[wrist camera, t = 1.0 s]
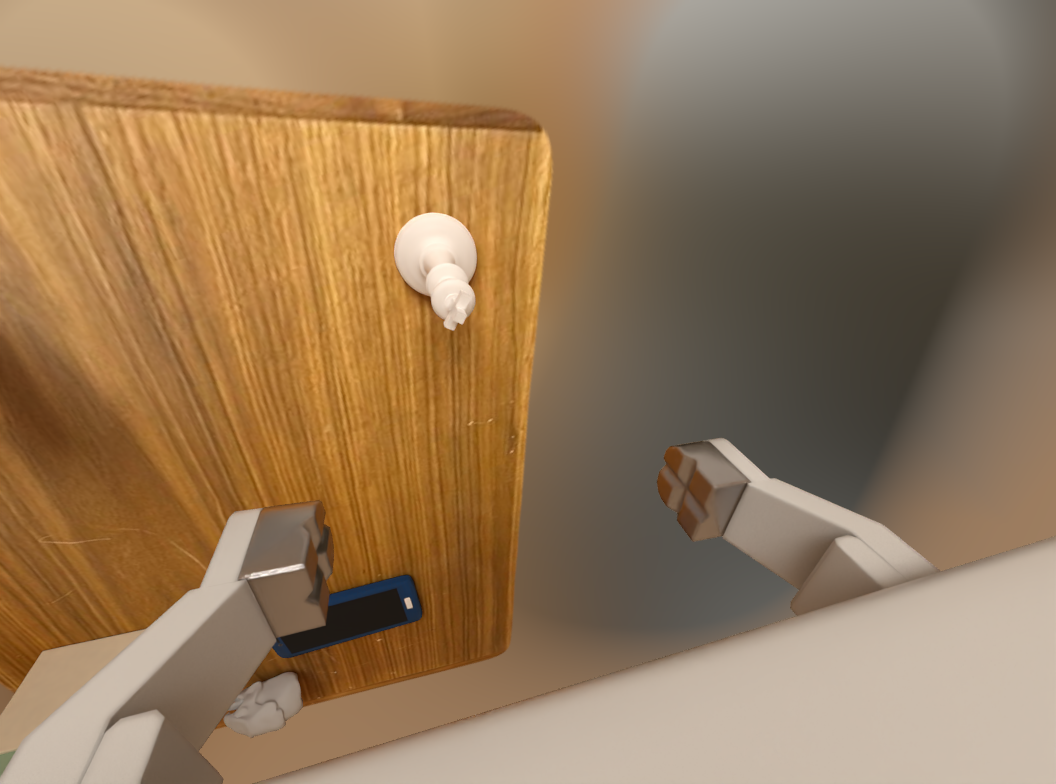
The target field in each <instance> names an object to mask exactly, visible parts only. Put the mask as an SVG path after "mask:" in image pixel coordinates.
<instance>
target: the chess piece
mask: <svg viewBox="0 0 1056 784" xmlns="http://www.w3.org/2000/svg"><path fill="white" fill-rule="evenodd" d="M394 257H395V262H396V266H397V268H398V271H399V273H400V274H401V276H402V277H403V279H404V280H405V281H406V283H407V284H408V285H409V286H410V287H412V288H413V289H414V290H416V291H417V292H419V293H421V294H424V295H427V296H430V297H431V304H432V308H433V310H434V312H435V313H436V314H437V315H438V316H439V317H440V318H442V319H444V320H445V321H444V327H446V328H448V329H450V330H453V331H454V329H455V328H456V326H457V324H458V323H460V324H463V322H464V320H465V319H466V317H468V316H469V315H470V314H471V312H472V311H473V309H474V306H475V294H474V292H473V290H472V288H471V287H470V286H469V281H470V280H471V278H472V276H473V274H474V272H475V269H476V264H477V253H476V247H475V243H474V240H473V238H472V236H471V234H470V233H469V231H468V230H467V229H466V227H465V226H464V225H463V224H461V223H460V222H459V221H458V220H456V219H454V218H453V217H451V216H448V215H445V214H441V213H426V214H422V215H419V216H417V217H415V218H413V219H411V220H410V221H409V222H407V223H406V224H405V225H404V226H403V228H402V229H401V230H400V232H399V234H398V236H397V239H396V242H395V247H394Z"/></svg>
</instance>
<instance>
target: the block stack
mask: <svg viewBox="0 0 1056 784" xmlns="http://www.w3.org/2000/svg"><path fill="white" fill-rule="evenodd" d="M145 630H146V629H144V630H139V631H134V632H130V633H125V634H120V635H116V636H111V637H106V638H102V639H97V640H92V641H88V642H83V643H78V644H73V645H69V646H64V647H59V648H55V649H50V650H45V651H42V653H41V654H40V656H39V657H38V659H37V660H36V662H35V663H34V665H33V666H32V668H31V669H30V671H29V673H28V674H27V676H26V677H25V679H24V680H23V682H22V683H21V685H20V686H19V688H18V689H17V691H16V692H15V694H14V695H13V697H12V699H11V700H10V702H9V703H8V705H7V706H6V708H5V709H4V711H3V712H2V714H1V716H0V777H1V775H2V773H3V772H4V770H5V768H6V767H7V765H8V763H9V762H10V760H11V758H12V757H13V755H14V753H15V752H16V750H17V748H18V747H19V745H20V743H21V742H22V740H23V739H24V738H25V737H26V736H27V735H29V734H30V733H31V732H32V731H33V730H34V729H35V728H36V727H38V726H39V725H40V724H41V723H42V722H43V721H44V720H45V719H46V718H48V717H49V716H50V715H51V714H52V713H53V712H54V711H55V710H57V709H58V708H59V707H60V706H61V705H62V704H63V703H64V702H65V701H67V700H68V699H69V698H70V697H71V696H72V695H73V694H74V693H76V692H77V691H78V690H79V689H80V688H81V687H82V686H83V685H84V684H86V683H87V682H88V681H89V680H90V679H91V678H92V677H93V676H95V675H96V674H97V673H98V672H99V671H100V670H101V669H102V668H103V667H105V666H106V665H107V664H108V663H109V662H110V661H111V660H112V659H113V658H115V657H116V656H117V655H118V654H119V653H120V652H121V651H122V650H124V649H125V648H126V647H127V646H128V645H129V644H130V643H131V642H132V641H134V640H135V639H136V638H137V637H138V636H139V635H140V634H141V633H143V632H144V631H145Z"/></svg>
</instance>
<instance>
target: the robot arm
mask: <svg viewBox="0 0 1056 784" xmlns="http://www.w3.org/2000/svg"><path fill="white" fill-rule="evenodd" d="M664 460H665V462H666V463H667V464H666V465H665V466H664V468H663V469H661V471H660V472H659V476H658V480H657V484H658V491H659V494H660V496H661V499H662V500H663V502H664V503H665V505H666V506H667V507H668V508H670V509H672V510H674V511H675V512H677V514H678V515H677V521H678V522H679V524H680V525H681V526H682V528H683V529H684V530H685V532H686V533H687V534H688V536H689V537H690V539H691V540H692V541H693V542H694V541H699V540H704V539H710V538H715V537H719V536H723V537H722V538H723V539H725V540H727V541H728V542H729V543H731V544H732V545H734V546H735V547H737V548H738V549H740V550H741V551H742V552H744V553H746V554H747V555H749V556H750V557H751V558H753V559H754V560H756V561H757V562H759V563H760V564H762V565H763V566H765V567H766V568H768V569H769V570H771V571H772V572H774V573H775V574H776V575H778V576H779V577H781V578H782V579H784V580H785V581H787V582H788V583H790V584H791V585H793V586H794V587H796V588H797V589H799V591H798V592H797V594H796V595H795V597H794V598H793V600H792V601H791V607H790V608H791V609H792V610H793V612H794V613H795V614H796V615H797V616H795V617H792V618H788V619H785V620H782V621H779V622H775V623H772V624H769V625H766V626H763V627H759V628H756V629H753V630H749V631H746V632H743V633H740V634H736V635H733V636H730V637H727V638H724V639H721V640H717V641H714V642H711V643H708V644H704V645H701V646H698V647H694V648H691V649H688V650H684V651H681V652H678V653H675V654H671V655H669V656H665V657H662V658H658V659H655V660H652V661H649V662H645V663H643V664H639V665H636V666H633V667H629V668H626V669H623V670H620V671H616V672H613V673H610V674H607V675H603V676H600V677H597V678H594V679H591V680H587V681H584V682H581V683H577V684H574V685H571V686H568V687H564V688H561V689H558V690H555V691H552V692H548V693H545V694H542V695H539V696H535V697H532V698H529V699H526V700H522V701H519V702H516V703H512V704H509V705H506V706H503V707H500V708H496V709H493V710H490V711H487V712H484V713H480V714H477V715H474V716H470V717H467V718H464V719H461V720H457V721H454V722H451V723H448V724H444V725H441V726H438V727H435V728H432V729H428V730H425V731H422V732H418V733H415V734H412V735H409V736H406V737H402V738H399V739H396V740H393V741H389V742H386V743H383V744H380V745H376V746H373V747H370V748H367V749H364V750H360V751H357V752H354V753H351V754H347V755H344V756H341V757H337V758H334V759H331V760H328V761H325V762H321V763H318V764H315V765H312V766H308V767H305V768H302V769H299V770H296V771H292V772H289V773H286V774H283V775H279V776H276V777H273V778H270V779H266V780H263V781H260V782H257V783H253V784H1056V536H1054V537H1051V538H1048V539H1044V540H1041V541H1038V542H1035V543H1032V544H1028V545H1025V546H1022V547H1019V548H1016V549H1012V550H1009V551H1006V552H1002V553H999V554H996V555H993V556H990V557H986V558H983V559H980V560H976V561H974V562H970V563H967V564H964V565H961V566H957V567H954V568H950V569H947V570H944V571H940V570H939V569H937V568H936V567H935V566H934V565H932V564H931V563H930V562H929V561H927V560H926V559H925V558H924V557H922V556H921V555H920V554H919V553H918V552H916V551H915V550H914V549H912V548H911V547H910V546H909V545H907V544H906V543H905V542H904V541H903V540H901V539H900V538H899V537H898V536H896V535H895V534H894V533H893V532H891V531H890V530H889V529H888V528H886V527H885V526H884V525H882V524H880V523H878V522H875V521H873V520H871V519H868V518H866V517H864V516H861V515H859V514H857V513H854V512H852V511H850V510H848V509H845V508H843V507H840V506H838V505H836V504H833V503H831V502H829V501H826V500H824V499H822V498H820V497H817V496H815V495H813V494H810V493H808V492H806V491H803V490H801V489H799V488H796V487H794V486H792V485H789V484H787V483H785V482H782V481H780V480H778V479H776V478H775V479H769V478H768V477H767V476H766V475H765V474H764V473H763V472H762V471H761V470H760V469H758V468H757V467H756V466H755V465H754V464H753V463H752V462H751V461H750V460H749V459H747V458H746V457H745V456H744V455H743V454H742V453H741V452H740V451H739V450H738V449H737V448H735V447H734V446H733V445H732V444H731V443H730V442H729V441H728V440H725V439H723V438H717V439H711V440H705V441H700V442H693V443H688V444H681V445H675V446H670V447H669V448H668V449H667V451H666V453H665V456H664ZM325 513H326V512H325V509H324V506H323V504H322V501H320V500H316V501H308V502H300V503H293V504H285V505H277V506H270V507H264V508H259V509H251V510H243V511H235V512H234V513H233V514H232V515H231V516H230V517H229V519H228V521H227V523H226V526H225V528H224V531H223V533H222V535H221V538H220V540H219V543H218V545H217V547H216V550H215V552H214V555H213V557H212V559H211V562H210V564H209V567H208V569H207V572H206V574H205V576H204V579H203V581H202V584H201V586H200V588H198V589H193V590H189V591H188V592H187V593H186V594H185V595H184V596H183V597H182V598H181V599H179V600H178V601H177V602H176V603H175V604H174V605H173V606H172V607H170V608H169V609H168V610H167V611H166V612H165V613H164V614H163V615H162V616H160V617H159V618H158V619H157V620H156V621H155V622H154V623H153V624H151V625H150V626H149V627H148V628H147V629H146V630H145V631H144V632H143V633H141V634H140V635H139V636H138V637H137V638H136V639H135V640H134V641H132V642H131V643H130V644H129V645H128V646H127V647H126V648H125V649H124V650H122V651H121V652H120V653H119V654H118V655H117V656H116V657H115V658H113V659H112V660H111V661H110V662H109V663H108V664H107V665H106V666H105V667H103V668H102V669H101V670H100V671H99V672H98V673H97V674H96V675H95V676H93V677H92V678H91V679H90V680H89V681H88V682H87V683H86V684H84V685H83V686H82V687H81V688H80V689H79V690H78V691H77V692H76V693H74V694H73V695H72V696H71V697H70V698H69V699H68V700H67V701H65V702H64V703H63V704H62V705H61V706H60V707H59V708H58V709H57V710H55V711H54V712H53V713H52V714H51V715H50V716H49V717H48V718H46V719H45V720H44V721H43V722H42V723H41V724H40V725H39V726H38V727H36V728H35V729H34V730H33V731H32V732H31V733H30V734H29V735H27V736H26V737H25V738H24V739H23V740H22V742H21V743H20V745H19V747H18V748H17V750H16V752H15V753H14V755H13V757H12V758H11V760H10V762H9V763H8V765H7V767H6V768H5V770H4V772H3V773H2V775H1V777H0V784H222V783H223V778H222V776H221V775H220V774H219V772H218V771H217V770H216V769H215V768H214V767H213V766H212V765H211V764H210V763H209V762H208V761H207V760H206V759H205V758H204V757H203V756H202V755H201V754H200V753H199V750H200V749H201V748H202V746H203V745H204V743H205V742H206V740H207V739H208V738H209V736H210V734H211V733H212V732H213V730H214V729H215V728H216V726H217V725H218V723H219V722H220V721H221V719H222V718H223V716H224V715H225V713H226V712H227V711H228V709H229V708H230V706H231V705H232V703H233V702H234V701H235V699H236V698H237V696H238V695H239V694H240V692H241V691H242V689H243V688H244V686H245V685H246V684H247V682H248V681H249V679H250V678H251V676H252V675H253V674H254V672H255V671H256V669H257V668H258V667H259V665H260V664H261V662H262V661H263V659H264V658H265V657H266V655H267V654H268V652H269V651H270V649H271V648H272V647H273V645H274V644H275V642H276V638H278V637H282V636H286V635H290V634H294V633H298V632H302V631H305V630H309V629H313V628H317V627H321V626H325V625H326V618H327V611H328V603H329V596H330V592H329V589H328V586H327V583H326V580H327V579H328V578H329V577H330V575H331V574H332V572H333V563H334V545H333V538H332V533H331V530H330V527H328V526H327V525H325V524H324V520H325Z"/></svg>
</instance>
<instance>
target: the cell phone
mask: <svg viewBox="0 0 1056 784" xmlns="http://www.w3.org/2000/svg"><path fill="white" fill-rule="evenodd" d="M421 617H422V608H421V605H420V601H419V598H418V595H417V591H416V588H415V585H414V582H413V580H412V578H411V577H410V576H409V575H403V576H399V577H395V578H391V579H387V580H383V581H380V582H376V583H372V584H368V585H364V586H361V587H357V588H353V589H349V590H345V591H342V592H338V593H334V594H330V596H329V603H328V611H327V618H326V625H325V626H321V627H317V628H313V629H309V630H305V631H302V632H298V633H294V634H290V635H286V636H282V637H278V638H276V642H275V644H274V645H273V647H272V648H273V649H274V650H275V652H276V653H277V654H278V655H279V656H280V657H282V658H291V657H294V656H298V655H301V654H304V653H308V652H311V651H315V650H318V649H322V648H325V647H329V646H332V645H335V644H339V643H342V642H346V641H349V640H353V639H356V638H360V637H363V636H366V635H370V634H373V633H377V632H380V631H384V630H387V629H391V628H394V627H397V626H401V625H404V624H408V623H411V622H415V621H418V620H419V619H420V618H421Z"/></svg>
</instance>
